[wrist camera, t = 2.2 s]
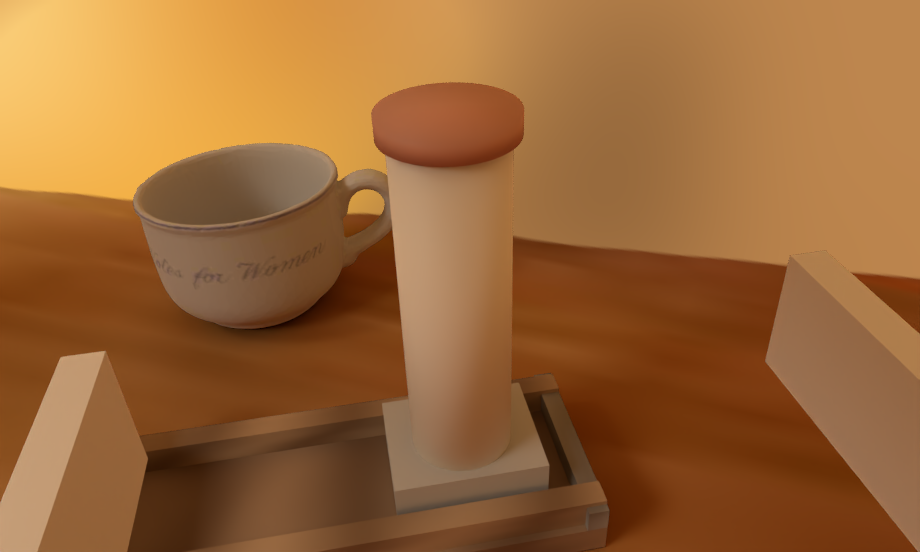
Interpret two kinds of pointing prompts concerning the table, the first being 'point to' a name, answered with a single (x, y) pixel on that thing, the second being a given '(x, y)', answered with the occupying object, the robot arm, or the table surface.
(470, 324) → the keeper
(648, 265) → the table surface
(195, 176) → the teacup
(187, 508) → the track
